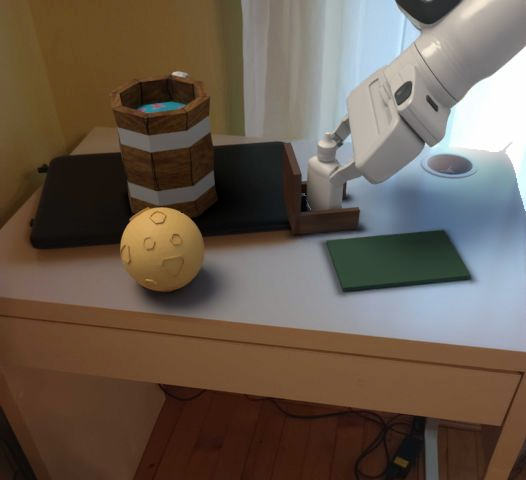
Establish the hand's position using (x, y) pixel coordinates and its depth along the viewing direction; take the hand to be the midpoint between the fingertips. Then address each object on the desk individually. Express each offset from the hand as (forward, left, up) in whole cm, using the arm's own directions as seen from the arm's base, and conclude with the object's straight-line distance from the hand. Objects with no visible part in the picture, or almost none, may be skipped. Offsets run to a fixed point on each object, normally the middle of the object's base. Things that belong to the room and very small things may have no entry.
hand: (330, 163), depth 83 cm
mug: (+21, -11, -8) cm, 25 cm away
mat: (-6, +12, -8) cm, 16 cm away
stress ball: (+23, +12, -8) cm, 27 cm away
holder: (+1, 0, -8) cm, 8 cm away
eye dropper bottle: (+1, 0, -8) cm, 8 cm away
